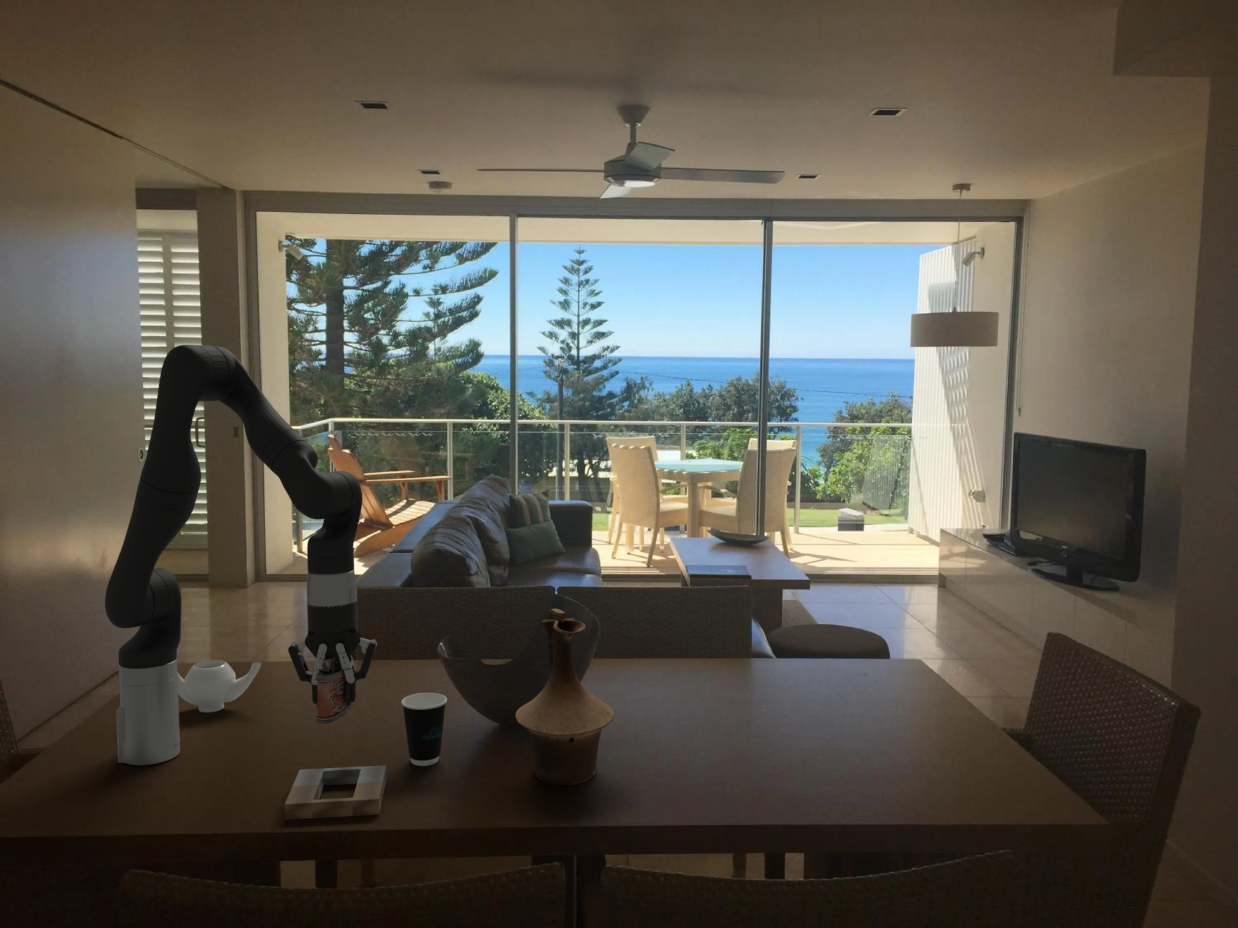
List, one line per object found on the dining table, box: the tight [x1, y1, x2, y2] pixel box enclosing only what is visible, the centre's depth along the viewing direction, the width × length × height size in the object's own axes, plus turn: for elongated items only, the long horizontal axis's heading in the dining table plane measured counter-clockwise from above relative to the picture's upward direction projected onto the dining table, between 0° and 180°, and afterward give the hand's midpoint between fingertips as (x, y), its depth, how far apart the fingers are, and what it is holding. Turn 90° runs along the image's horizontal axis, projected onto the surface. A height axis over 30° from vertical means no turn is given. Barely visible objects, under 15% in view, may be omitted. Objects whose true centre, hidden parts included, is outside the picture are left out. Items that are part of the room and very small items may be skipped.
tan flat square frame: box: [284, 764, 387, 821], centre depth 155 cm, size 14×13×2 cm
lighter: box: [316, 656, 352, 725], centre depth 153 cm, size 8×3×10 cm, turn 169°
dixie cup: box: [401, 692, 448, 767], centre depth 171 cm, size 8×8×11 cm
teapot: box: [177, 659, 262, 713], centre depth 196 cm, size 10×20×9 cm, turn 95°
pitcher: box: [515, 608, 615, 786], centre depth 165 cm, size 18×17×28 cm
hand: (334, 704), depth 154 cm, fingers closed on lighter, 4 cm apart
